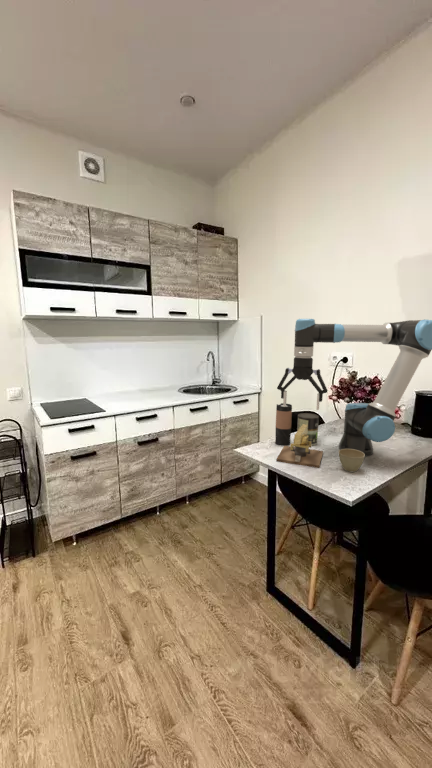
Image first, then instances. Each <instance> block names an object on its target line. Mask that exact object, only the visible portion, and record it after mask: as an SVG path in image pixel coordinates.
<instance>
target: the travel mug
mask: <svg viewBox="0 0 432 768" xmlns="http://www.w3.org/2000/svg"><path fill="white" fill-rule="evenodd" d="M275 411H276V412H275V445H277V446H280V447H284V446H290V444H291V433H292V415H293V405H292V404H291V403H286V406H285V407H283V403H280V404H276V410H275Z"/></svg>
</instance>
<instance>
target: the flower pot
mask: <svg viewBox="0 0 432 768" xmlns="http://www.w3.org/2000/svg"><path fill="white" fill-rule="evenodd" d="M365 458H366V456H365V454H364V453H363V452H361V451H358V450H355V449H341V450H339V449H338V459H339V461H340V464H341V466H342V468H343V470H345V471H347V472H351V473H354V472H357V471H358V470H359V469H360V467H361V466H362V464H363V463H364V460H365Z"/></svg>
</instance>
